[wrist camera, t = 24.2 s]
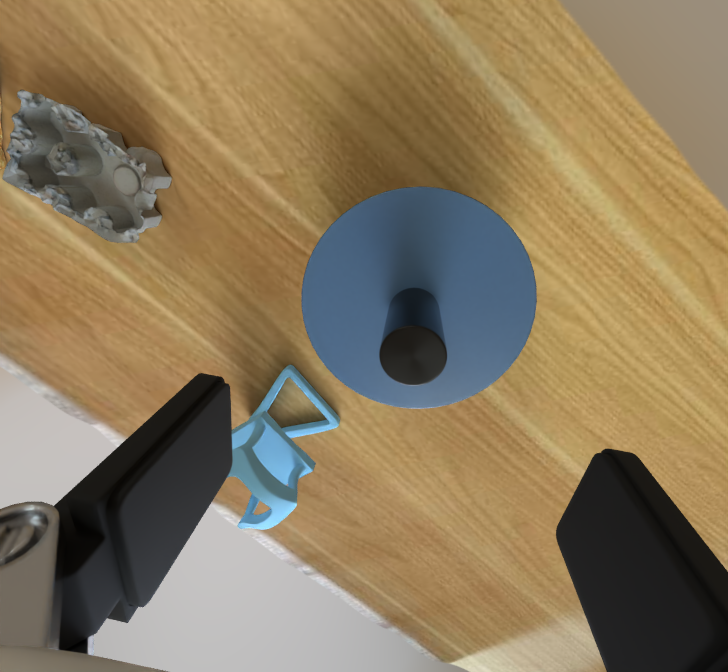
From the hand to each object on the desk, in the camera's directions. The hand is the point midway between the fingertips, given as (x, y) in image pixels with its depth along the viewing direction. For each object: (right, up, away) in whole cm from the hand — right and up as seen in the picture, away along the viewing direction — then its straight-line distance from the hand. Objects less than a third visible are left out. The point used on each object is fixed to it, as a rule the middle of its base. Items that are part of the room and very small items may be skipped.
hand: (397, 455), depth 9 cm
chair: (-9, -4, +28) cm, 29 cm away
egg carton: (-22, +17, +20) cm, 34 cm away
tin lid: (+2, +5, +12) cm, 14 cm away
